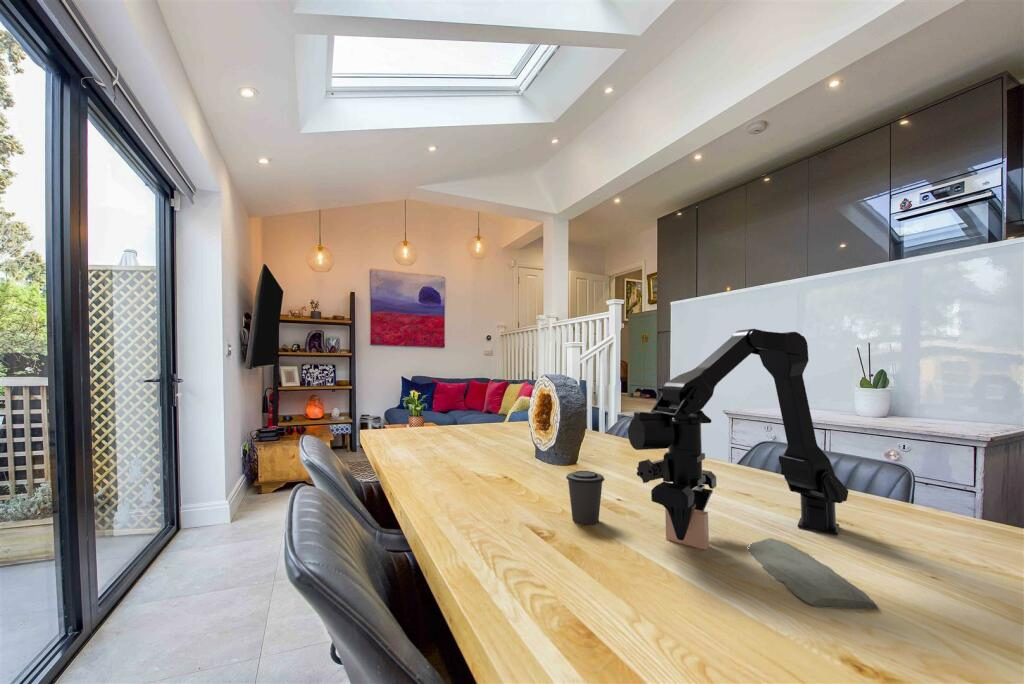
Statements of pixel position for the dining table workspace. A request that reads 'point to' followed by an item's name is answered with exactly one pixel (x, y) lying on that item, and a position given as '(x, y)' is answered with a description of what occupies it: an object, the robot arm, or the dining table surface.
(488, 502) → the dining table surface
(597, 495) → the coffee cup
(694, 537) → the block
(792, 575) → the stone slab
